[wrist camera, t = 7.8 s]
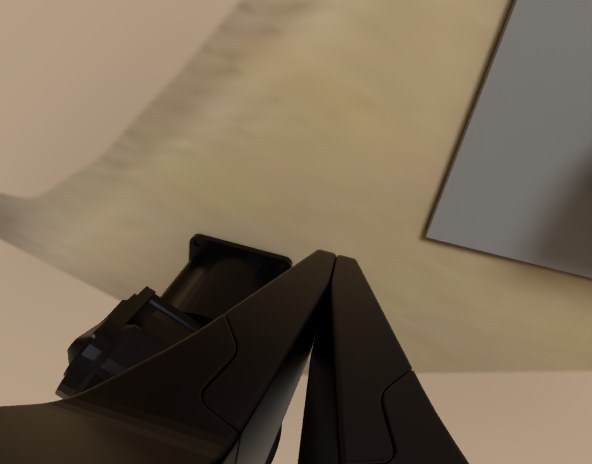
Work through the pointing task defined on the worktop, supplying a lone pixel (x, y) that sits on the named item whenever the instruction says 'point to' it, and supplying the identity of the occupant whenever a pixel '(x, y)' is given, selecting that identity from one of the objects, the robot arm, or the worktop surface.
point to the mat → (528, 145)
